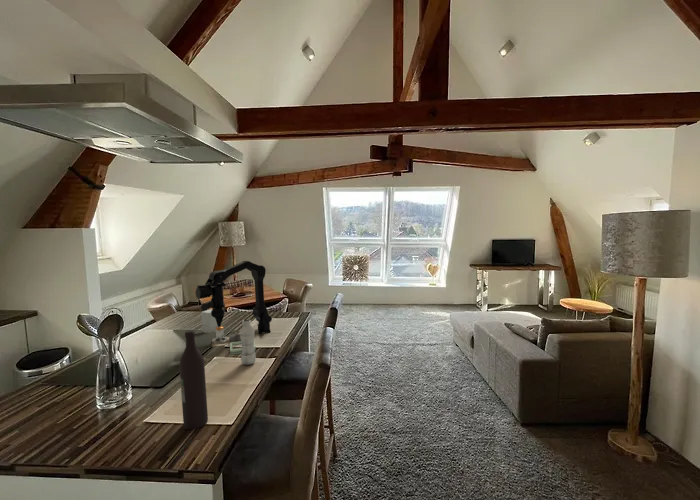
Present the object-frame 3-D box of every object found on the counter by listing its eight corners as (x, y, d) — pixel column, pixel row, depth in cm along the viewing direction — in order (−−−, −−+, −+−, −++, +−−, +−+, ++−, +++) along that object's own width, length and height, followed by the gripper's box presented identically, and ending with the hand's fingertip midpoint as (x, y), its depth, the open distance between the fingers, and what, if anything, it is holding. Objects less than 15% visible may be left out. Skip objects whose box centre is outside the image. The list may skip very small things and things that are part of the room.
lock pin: (224, 339, 184) (223, 325, 183) (224, 342, 180) (223, 327, 179) (216, 341, 182) (215, 326, 182) (216, 343, 179) (215, 328, 178)
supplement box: (220, 330, 206) (219, 310, 205) (209, 334, 200) (208, 313, 199) (212, 328, 210) (211, 308, 209) (202, 332, 204) (200, 311, 203)
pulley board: (247, 337, 192) (246, 329, 192) (248, 344, 180) (247, 336, 179) (213, 341, 186) (212, 333, 186) (211, 349, 174) (211, 341, 174)
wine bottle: (196, 415, 113) (190, 327, 110) (212, 419, 110) (207, 329, 108) (178, 427, 106) (171, 333, 104) (195, 432, 103) (189, 336, 101)
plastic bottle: (238, 366, 152) (235, 322, 150) (246, 360, 158) (244, 318, 157) (251, 367, 150) (248, 322, 149) (258, 361, 157) (256, 318, 155)
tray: (254, 344, 180) (254, 339, 180) (255, 351, 169) (255, 346, 169) (230, 347, 176) (230, 342, 176) (230, 355, 165) (229, 350, 165)
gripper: (202, 293, 186) (204, 321, 187) (199, 300, 168) (201, 331, 169) (224, 291, 189) (225, 319, 190) (223, 298, 172) (225, 328, 173)
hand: (219, 324), depth 181 cm, fingers open, 9 cm apart
